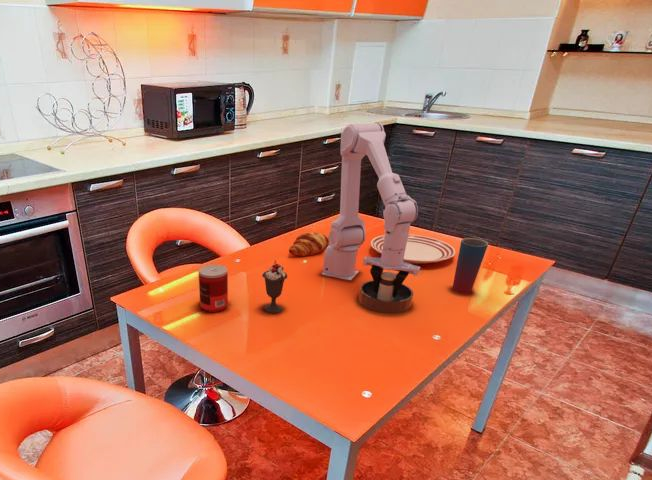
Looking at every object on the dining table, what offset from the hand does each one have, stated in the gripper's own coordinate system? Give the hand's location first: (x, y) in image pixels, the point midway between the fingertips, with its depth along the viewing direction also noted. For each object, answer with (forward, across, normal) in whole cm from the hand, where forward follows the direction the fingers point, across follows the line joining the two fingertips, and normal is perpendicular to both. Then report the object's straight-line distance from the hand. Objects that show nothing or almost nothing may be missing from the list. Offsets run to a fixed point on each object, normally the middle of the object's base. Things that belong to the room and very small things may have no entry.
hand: (385, 293), depth 132 cm
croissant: (+3, -34, +27) cm, 44 cm away
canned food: (+3, -40, -26) cm, 48 cm away
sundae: (+3, -25, -19) cm, 32 cm away
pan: (+3, 0, 0) cm, 3 cm away
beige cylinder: (+2, 0, 0) cm, 2 cm away
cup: (+3, +17, +19) cm, 26 cm away
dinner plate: (+3, -3, +41) cm, 41 cm away
